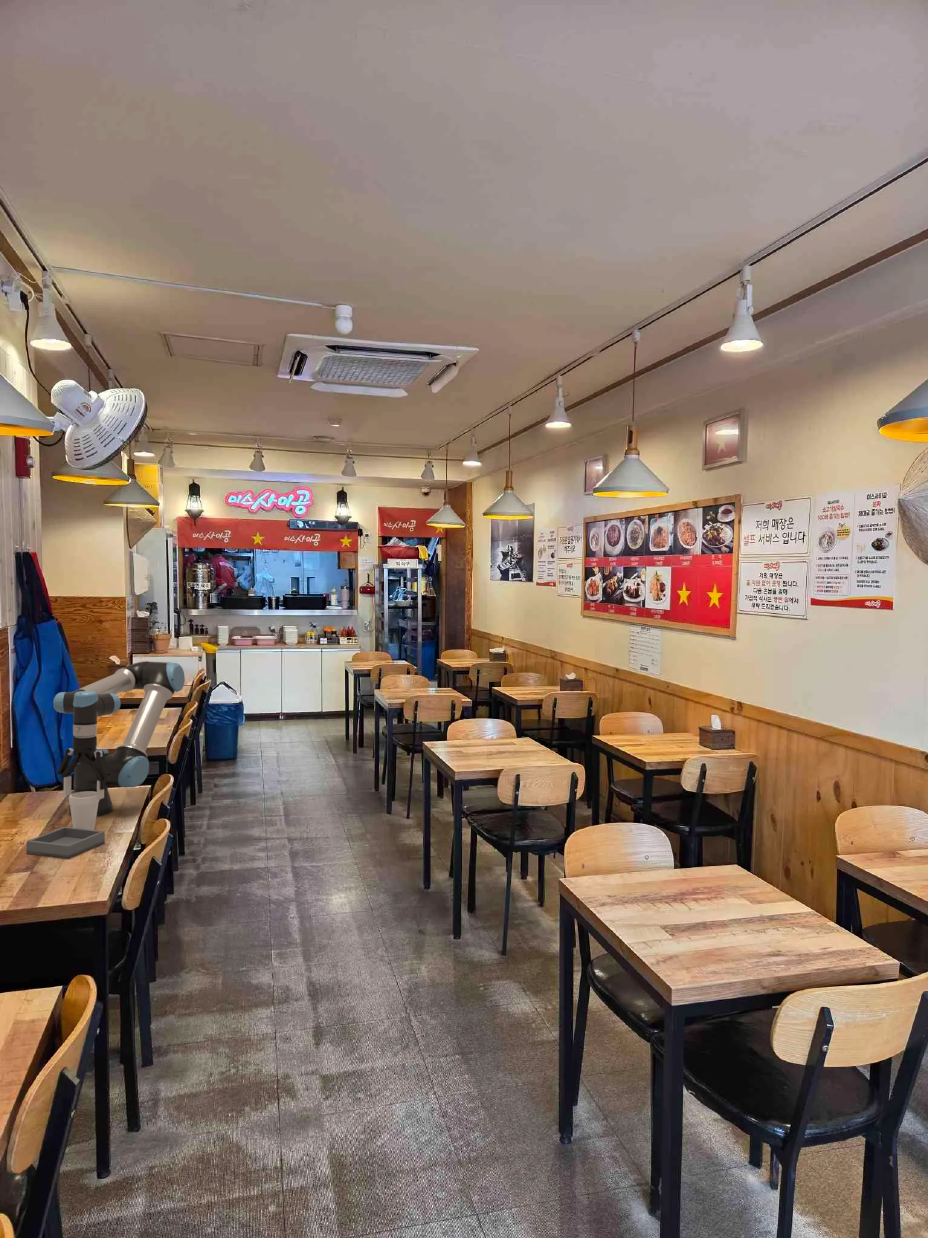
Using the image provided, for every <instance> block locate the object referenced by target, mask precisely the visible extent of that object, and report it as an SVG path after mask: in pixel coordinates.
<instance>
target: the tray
mask: <svg viewBox="0 0 928 1238" xmlns="http://www.w3.org/2000/svg"><path fill="white" fill-rule="evenodd" d="M105 834H106V831H103V830H95V829H94V830H88V829H80V828H73V827H70V826H63V827H61V828H58V829H55V830H52V831H49V832H47V833H44V834H42V835H39V836H36V837H33V838H31V839H28V840H26V845H25V846H26V852H25V853H26V854H28V855H35V856H36V855H37V856H43V857H49V858H51V857H52V858H59V859H65V860H70V859H72V858H74V857H77V856H79V855H81V854H83V853H86V852H88V851H90V850H93V849H95V848H98V847H100V846H102V845H104V844H105V842H106V841H105V839H106V838H105V837H106V835H105Z"/></svg>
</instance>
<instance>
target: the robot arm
mask: <svg viewBox="0 0 928 1238" xmlns="http://www.w3.org/2000/svg"><path fill="white" fill-rule="evenodd" d="M185 677H186V676H185V672H184V668H183V667H182V666H181V664H179V663H177V662H171V661H168V662H165V661H150V660H149V661H139V662H135V663H132V664H128V665H126V666H124V667H121V668H119V669H117V670H116V671H115V672H114V673H113V674H110V675H108V676H107V677H104V678H102V679H99V680H97V681H95V682H92V683H90V684H87V685H85V686H83V687H81V688H78V689H76V690H73V691H70V692H69V691H64V692H63V691H61V692H58V693H57V694H55V696H54V698H53V701H52V704H53V709H54V710H55V711H56V712H57V713H61V714H65V715H66V714H67V715H68V714H73V716H72V718H73V722H72V735H73V738H72V747H70V748H66V749H65V752H64V753H65V754H64V756H63V758H62V761H61V764H60V765H59V767H58V770H57V772H56V774H57V775H60V776H61V779H62V782H61V785H62V787H63V795H62V796H63V797H67V796H70V795H71V794H72V775H71V774H72V772H73V794H74V793H78V792H86V791H94V792H97V800H99V799H100V800H99V803H98V809H97V816H96V817H98V816H102V815H107V814H109V813H111V812H112V811H113V809H114V807H113V805H114V803H113V802H112V799H111V796H110V792H109V790H108V789H109V787H117V788H119V787H120V788H125V789H126V788H136V787H138V786H140V785H142V784H143V783H144V781H145V780H146V778H147V777H148V774H149V772H150V762H149V759H148V754H147V753H146V751H147V749H148V746H149V744H150V742H151V739H152V736H153V734H154V732H155V730H156V727H157V726H158V725H157V724H158V722H159V719H160V718H161V715H162V712H163V710H164V709H165V708H164V707H166V706H165V705H166V703H167V701H169V700H170V699H172V698H173V697H174V694H175V692H181V691H182V690H183V688H184V687H185V686H184V685H185V681H186V680H185V679H186V678H185ZM132 690H143V691H144V695H143V698H142V699H141V702H140V705H139V707H138V709H137V711H136V714H135V716H134V719H133V721H132V723H131V726H130V727H129V730H128V732H127V735H126V737H125V739H124V741H123V743H122V744H121V745H119V746H117V747H116V748H115V751H114V753H113V754H109V753H110V752H109V750H108V749H107V748H104V749H103V748H102V749H101V748H100V749H96V748H97V745H98V736H97V734H98V717H103V716H110V715H112V714H114V713H116V712H118V711H119V710H120V708H121V705H122V704H121V699H120V697H119V696H118V695H117V694H119V693H122V692H125V693H126V692H130V691H132ZM73 756H74V757H73ZM67 812H68V815H69V816H71V809H70V804H69V805H68V811H67Z"/></svg>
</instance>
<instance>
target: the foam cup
mask: <svg viewBox="0 0 928 1238" xmlns="http://www.w3.org/2000/svg"><path fill="white" fill-rule="evenodd" d="M68 796H69V797H68V800H69V801H68V804H69V805H70V809H71V815H70V816H71V822H72V823H71V824H72V828H80V829H88V830H95V827H96V822H97V817H98V816H97V809H98V803H99V800H100V799H99V800H97V792H94V791H86V792H78V793H74V792H73V793H71V795H68Z"/></svg>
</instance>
